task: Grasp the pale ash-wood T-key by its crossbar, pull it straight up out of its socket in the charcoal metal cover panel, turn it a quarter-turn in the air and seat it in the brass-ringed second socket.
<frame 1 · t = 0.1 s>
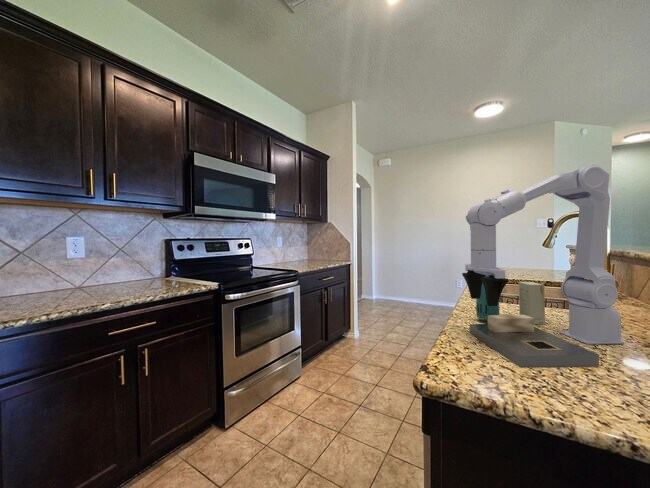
hand: (483, 301, 70), 10 cm above the worktop, tool pointing down, fingers open, 7 cm apart
skincare box: (531, 322, 84), on the worktop
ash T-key: (510, 339, 70), resting in charcoal cover panel
charcoal cover panel: (524, 347, 65), on the worktop
beverage bottle: (487, 322, 85), on the worktop
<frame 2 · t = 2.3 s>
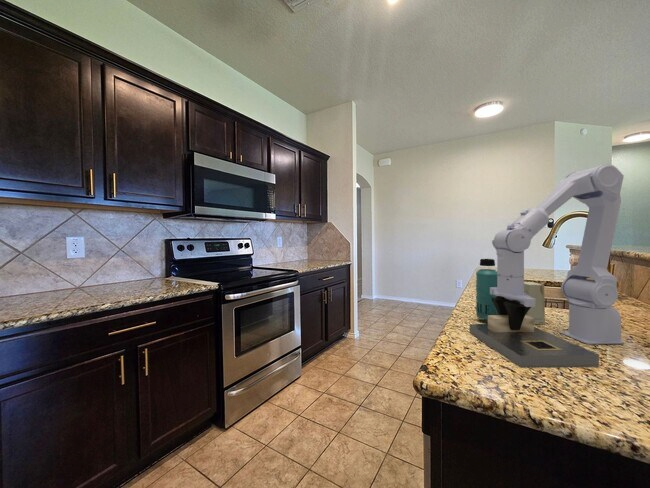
hand: (510, 327, 70), 3 cm above the worktop, tool pointing down, fingers closed on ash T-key, 3 cm apart
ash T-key: (510, 339, 70), resting in charcoal cover panel, touching gripper
everything else where it was.
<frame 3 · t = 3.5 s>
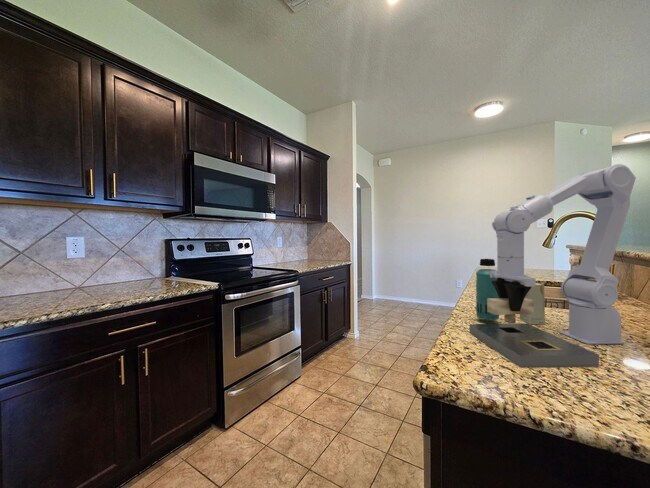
hand: (510, 309, 70), 8 cm above the worktop, tool pointing down, fingers closed on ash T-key, 3 cm apart
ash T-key: (509, 321, 70), point 5 cm above the worktop, touching gripper
everything else where it was.
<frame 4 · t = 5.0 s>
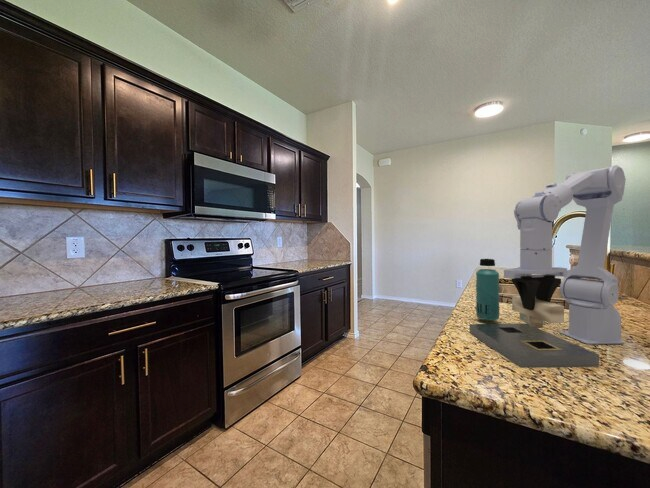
hand: (535, 308, 61), 10 cm above the worktop, tool pointing down, fingers closed on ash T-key, 3 cm apart
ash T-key: (535, 326, 61), point 6 cm above the worktop, touching gripper
everything else where it was.
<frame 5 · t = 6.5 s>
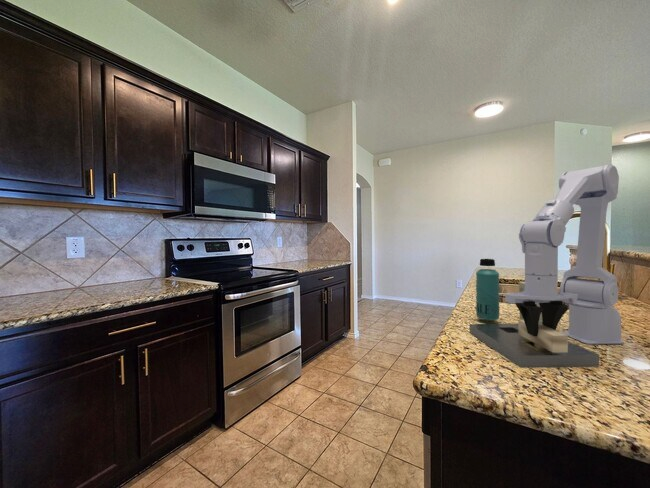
hand: (540, 334, 60), 5 cm above the worktop, tool pointing down, fingers closed on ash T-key, 3 cm apart
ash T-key: (540, 352, 60), point 1 cm above the worktop, touching gripper
everything else where it was.
when the fingers open (4 cm above the worktop, at t = 7.6 s): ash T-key stays where it is, resting on charcoal cover panel.
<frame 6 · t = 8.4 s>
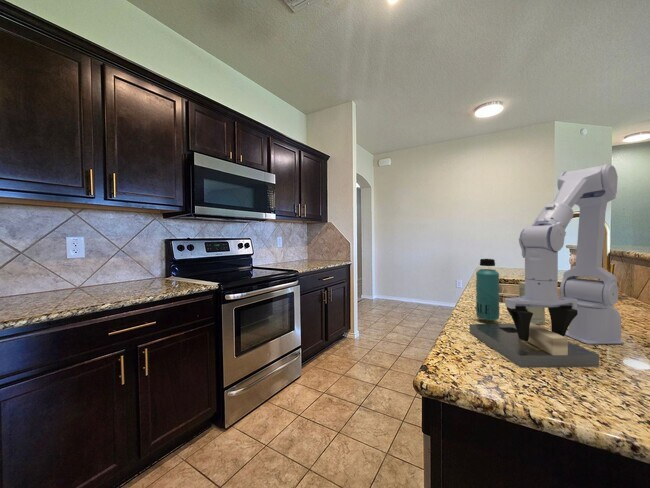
hand: (540, 339, 60), 4 cm above the worktop, tool pointing down, fingers open, 7 cm apart
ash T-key: (540, 355, 60), resting on charcoal cover panel
everything else where it was.
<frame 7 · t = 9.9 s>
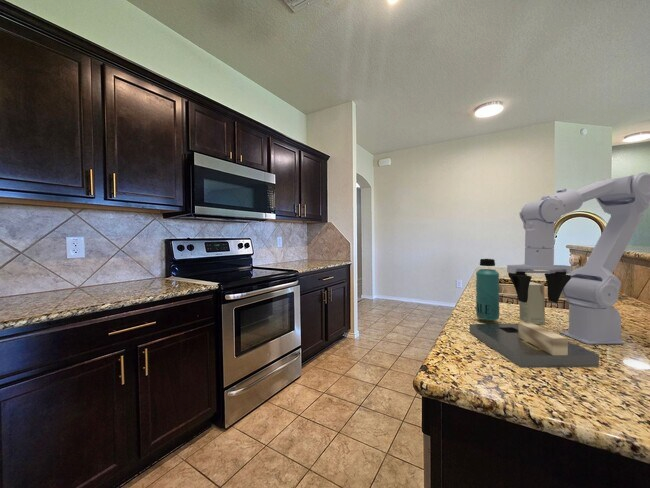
hand: (537, 301, 68), 10 cm above the worktop, tool pointing down, fingers open, 7 cm apart
nothing on the worktop moved.
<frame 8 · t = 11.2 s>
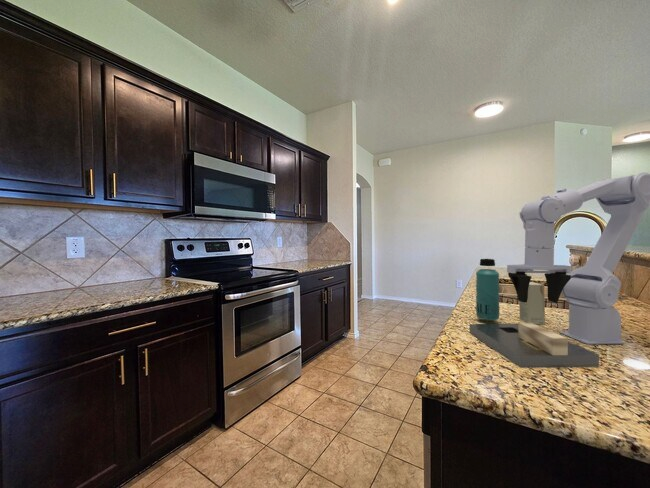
hand: (537, 301, 68), 10 cm above the worktop, tool pointing down, fingers open, 7 cm apart
nothing on the worktop moved.
at the end: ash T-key 0.2 cm from the target spot on the charcoal cover panel, point 0.2 cm above the charcoal cover panel's base; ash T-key tilted 0°; the gripper is holding nothing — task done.
